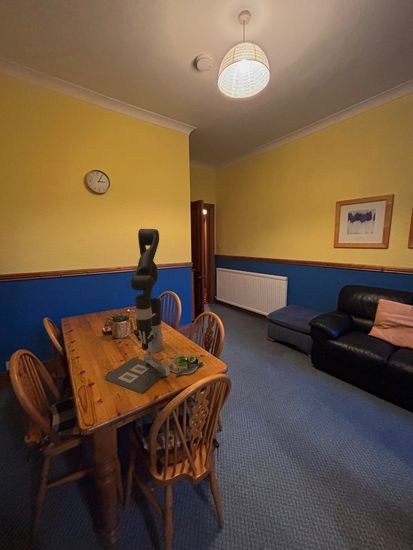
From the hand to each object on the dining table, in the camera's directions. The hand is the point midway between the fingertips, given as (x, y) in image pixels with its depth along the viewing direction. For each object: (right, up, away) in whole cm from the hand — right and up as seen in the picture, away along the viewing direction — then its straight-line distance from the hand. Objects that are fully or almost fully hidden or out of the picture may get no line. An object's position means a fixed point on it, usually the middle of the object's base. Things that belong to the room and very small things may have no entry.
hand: (145, 349), depth 114 cm
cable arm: (+4, -10, +5) cm, 12 cm away
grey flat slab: (-5, -15, +4) cm, 16 cm away
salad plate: (+18, -14, +14) cm, 27 cm away
